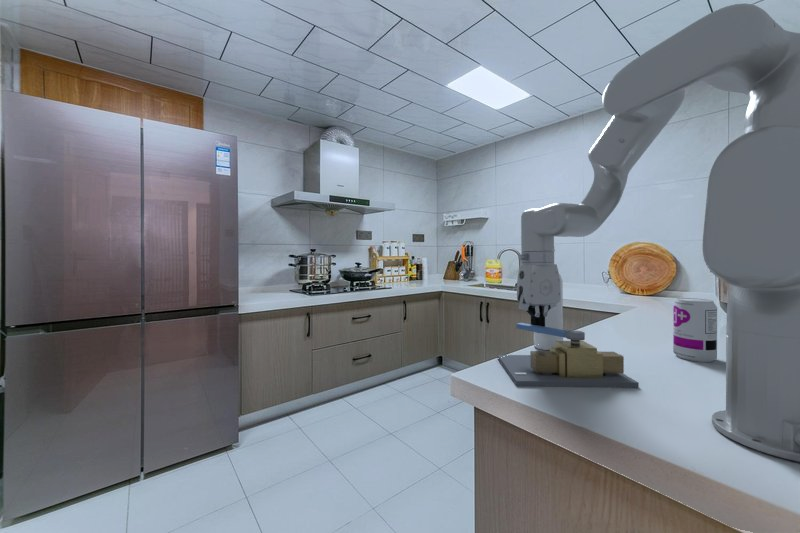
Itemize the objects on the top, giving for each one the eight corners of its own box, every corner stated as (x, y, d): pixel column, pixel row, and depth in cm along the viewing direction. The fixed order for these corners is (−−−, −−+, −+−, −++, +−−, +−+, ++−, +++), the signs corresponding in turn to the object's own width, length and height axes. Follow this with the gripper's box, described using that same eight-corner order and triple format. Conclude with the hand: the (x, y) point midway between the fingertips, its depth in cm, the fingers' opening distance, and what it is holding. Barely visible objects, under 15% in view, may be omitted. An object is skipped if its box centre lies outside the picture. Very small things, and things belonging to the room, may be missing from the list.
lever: (587, 338, 70) (587, 332, 70) (579, 341, 67) (579, 334, 67) (522, 326, 82) (522, 321, 82) (514, 328, 80) (514, 323, 80)
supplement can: (684, 361, 79) (684, 301, 79) (667, 352, 87) (667, 297, 87) (725, 364, 77) (725, 302, 77) (703, 354, 85) (704, 298, 84)
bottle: (560, 344, 96) (560, 245, 96) (566, 352, 89) (565, 244, 88) (532, 343, 99) (531, 246, 98) (535, 350, 91) (534, 245, 91)
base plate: (638, 387, 64) (638, 381, 64) (516, 385, 66) (516, 380, 66) (592, 359, 82) (592, 354, 82) (497, 358, 84) (497, 354, 84)
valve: (627, 383, 66) (627, 343, 66) (537, 382, 68) (537, 343, 68) (610, 373, 72) (610, 336, 72) (529, 372, 74) (528, 336, 74)
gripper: (523, 259, 74) (523, 338, 74) (573, 258, 79) (573, 332, 79) (502, 259, 81) (503, 331, 81) (549, 258, 86) (550, 326, 86)
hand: (537, 331), depth 80 cm, fingers closed
